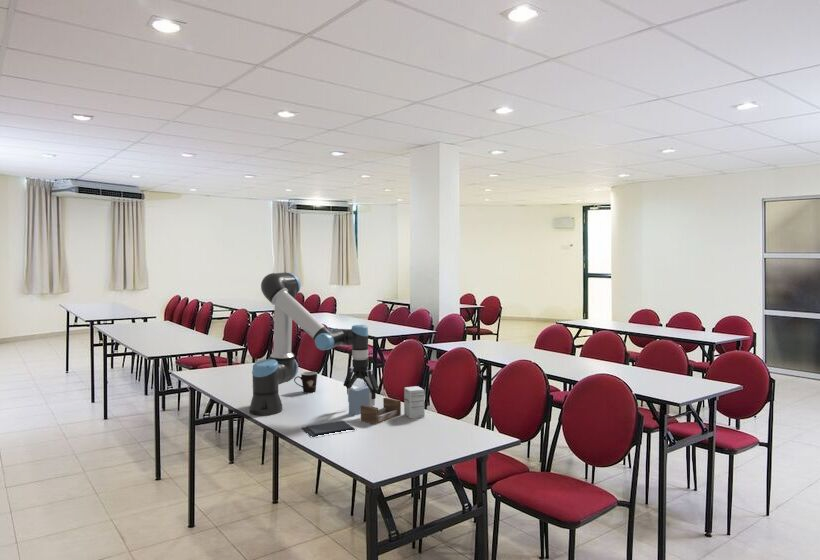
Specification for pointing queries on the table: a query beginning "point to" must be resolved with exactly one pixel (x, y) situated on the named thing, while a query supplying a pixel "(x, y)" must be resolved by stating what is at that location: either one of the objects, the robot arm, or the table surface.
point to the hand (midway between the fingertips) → (361, 403)
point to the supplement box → (414, 402)
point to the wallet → (327, 428)
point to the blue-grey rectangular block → (358, 399)
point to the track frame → (381, 411)
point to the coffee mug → (308, 381)
